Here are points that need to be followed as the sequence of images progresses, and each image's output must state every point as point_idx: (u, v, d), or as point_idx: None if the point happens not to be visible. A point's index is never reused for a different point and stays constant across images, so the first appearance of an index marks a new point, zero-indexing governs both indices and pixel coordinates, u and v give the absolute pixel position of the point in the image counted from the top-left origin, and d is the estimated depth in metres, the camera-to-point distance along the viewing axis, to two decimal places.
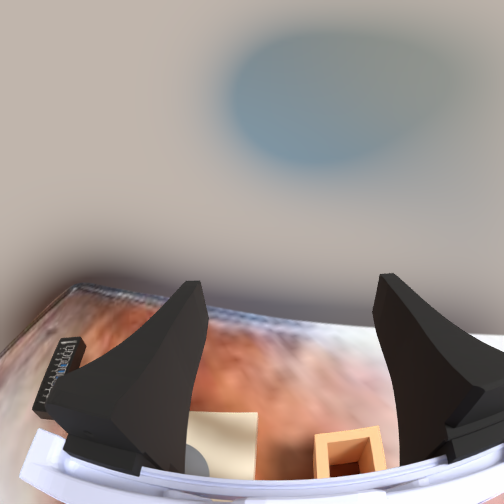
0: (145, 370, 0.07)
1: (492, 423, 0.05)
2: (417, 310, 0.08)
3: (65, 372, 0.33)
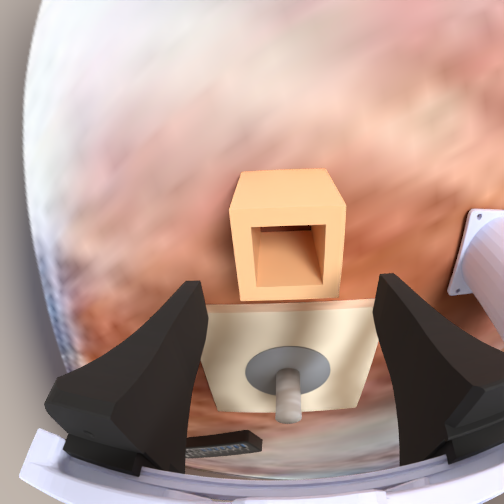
0: (145, 370, 0.07)
1: (492, 423, 0.05)
2: (417, 310, 0.08)
3: (207, 447, 0.37)
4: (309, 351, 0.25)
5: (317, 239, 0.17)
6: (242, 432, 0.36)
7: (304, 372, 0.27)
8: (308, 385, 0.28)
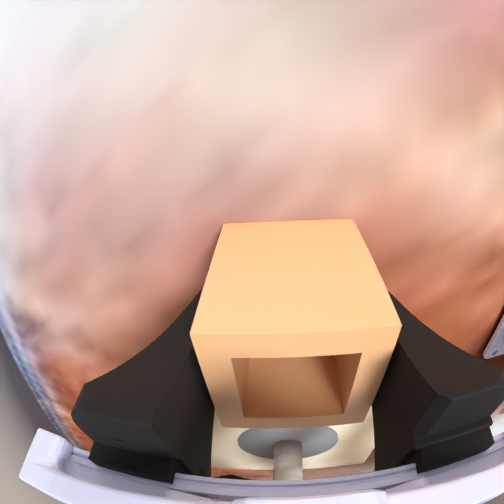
0: (180, 373, 0.07)
1: (466, 433, 0.05)
2: None
3: None
4: None
5: None
6: (226, 477, 0.30)
7: (307, 442, 0.20)
8: (311, 451, 0.21)
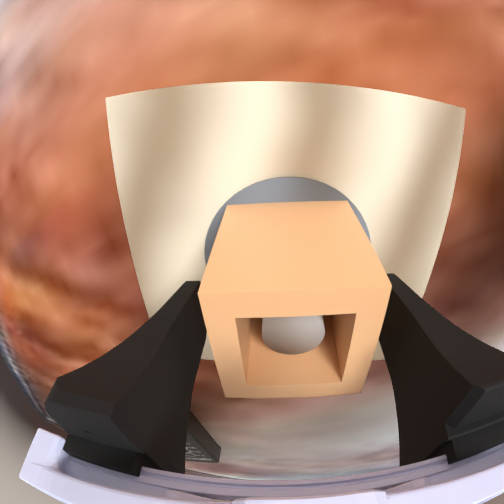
0: (145, 370, 0.07)
1: (492, 423, 0.05)
2: (417, 310, 0.08)
3: None
4: (334, 194, 0.13)
5: None
6: None
7: None
8: None
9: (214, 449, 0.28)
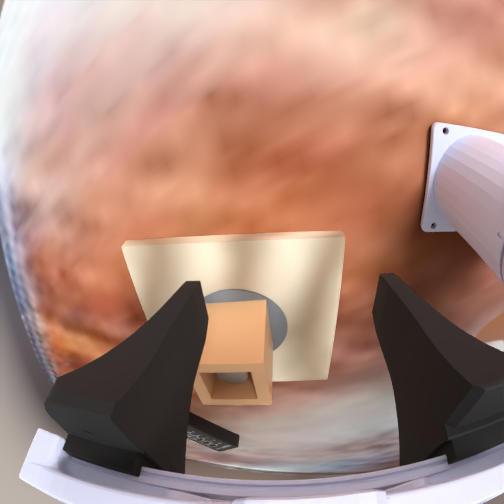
0: (145, 370, 0.07)
1: (492, 423, 0.05)
2: (417, 310, 0.08)
3: None
4: (258, 296, 0.23)
5: None
6: None
7: None
8: None
9: (227, 436, 0.37)
